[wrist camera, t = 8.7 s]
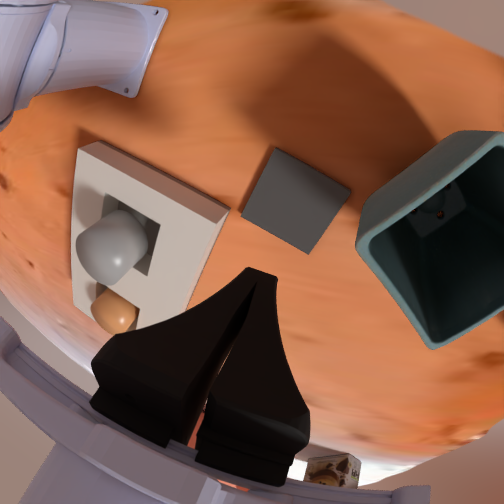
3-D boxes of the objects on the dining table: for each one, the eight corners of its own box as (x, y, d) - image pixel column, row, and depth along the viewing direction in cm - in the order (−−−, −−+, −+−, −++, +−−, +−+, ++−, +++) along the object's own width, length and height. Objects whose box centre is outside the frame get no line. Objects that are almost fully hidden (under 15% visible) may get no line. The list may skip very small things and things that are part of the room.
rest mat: (242, 214, 22) (240, 216, 22) (276, 147, 19) (274, 148, 19) (308, 252, 23) (308, 254, 22) (351, 190, 19) (351, 192, 19)
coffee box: (348, 452, 40) (333, 530, 27) (362, 461, 42) (349, 532, 28) (307, 457, 45) (288, 528, 32) (322, 466, 46) (306, 531, 33)
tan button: (109, 299, 33) (90, 319, 29) (111, 274, 30) (90, 295, 27) (140, 320, 33) (122, 342, 29) (145, 296, 30) (125, 320, 27)
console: (86, 291, 35) (73, 304, 32) (100, 140, 22) (78, 148, 20) (170, 347, 35) (159, 364, 33) (231, 208, 22) (216, 224, 20)
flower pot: (345, 183, 19) (349, 245, 12) (438, 110, 14) (505, 127, 7) (410, 268, 21) (431, 354, 13) (493, 209, 16) (551, 274, 9)
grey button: (103, 242, 24) (75, 265, 21) (108, 200, 22) (76, 220, 18) (142, 268, 24) (117, 295, 21) (153, 227, 22) (122, 252, 18)
